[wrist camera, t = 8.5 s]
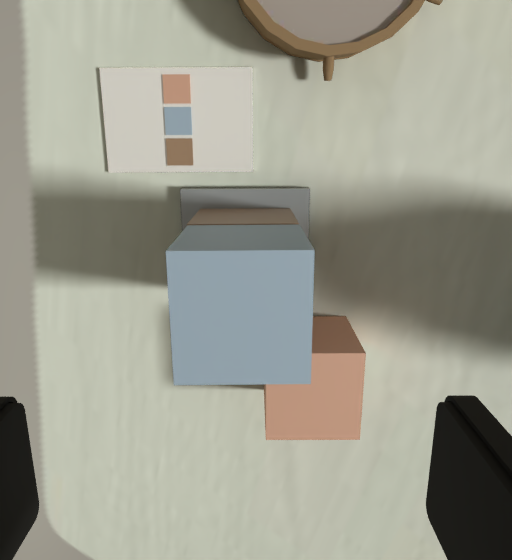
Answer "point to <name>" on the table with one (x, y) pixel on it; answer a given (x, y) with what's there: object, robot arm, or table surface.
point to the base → (245, 206)
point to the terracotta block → (321, 389)
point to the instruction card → (178, 119)
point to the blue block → (241, 305)
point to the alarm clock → (328, 25)
